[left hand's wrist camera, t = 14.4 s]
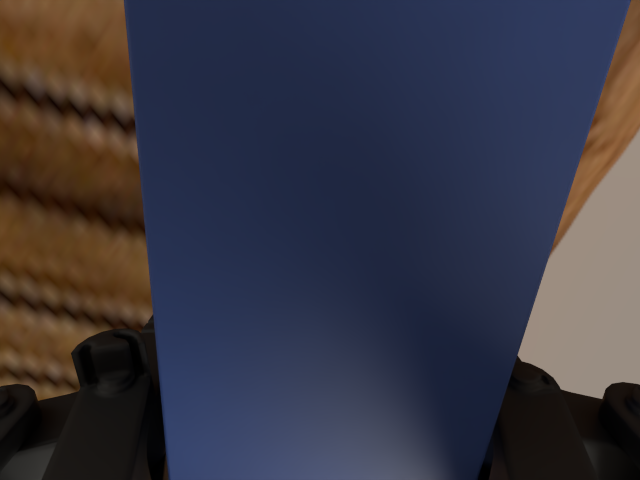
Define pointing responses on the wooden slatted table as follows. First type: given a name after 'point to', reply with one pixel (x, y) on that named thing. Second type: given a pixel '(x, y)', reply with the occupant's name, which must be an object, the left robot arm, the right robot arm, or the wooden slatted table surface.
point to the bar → (352, 220)
